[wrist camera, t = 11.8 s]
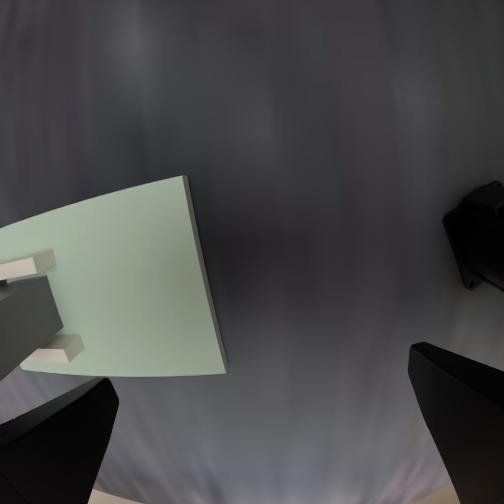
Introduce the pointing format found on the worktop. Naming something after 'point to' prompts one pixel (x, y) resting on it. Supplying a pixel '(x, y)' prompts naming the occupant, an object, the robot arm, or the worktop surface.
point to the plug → (25, 320)
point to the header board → (121, 284)
